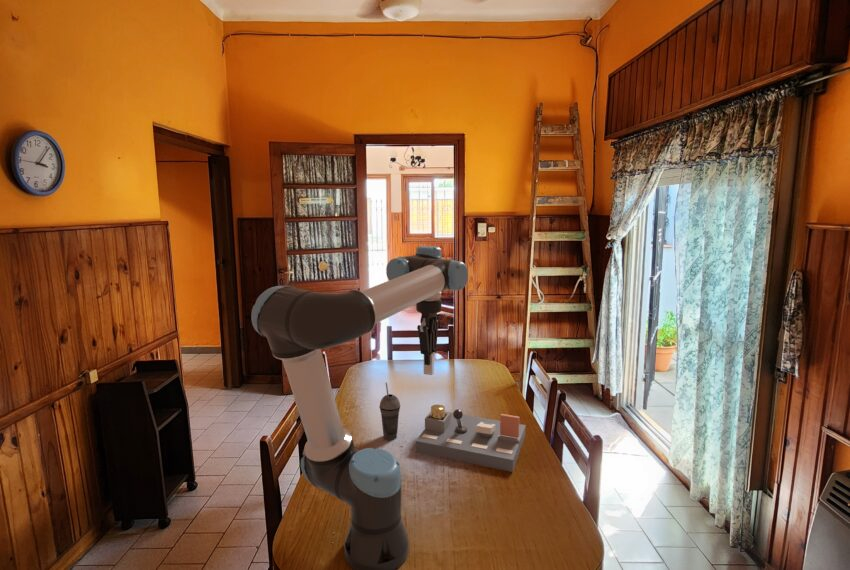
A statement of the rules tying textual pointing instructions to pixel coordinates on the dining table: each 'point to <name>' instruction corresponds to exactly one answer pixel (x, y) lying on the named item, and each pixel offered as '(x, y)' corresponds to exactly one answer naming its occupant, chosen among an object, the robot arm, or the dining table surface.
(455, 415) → the toggle lever
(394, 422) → the beverage cup
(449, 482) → the dining table surface
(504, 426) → the red square plate
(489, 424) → the block
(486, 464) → the console
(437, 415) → the push button
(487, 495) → the dining table surface
